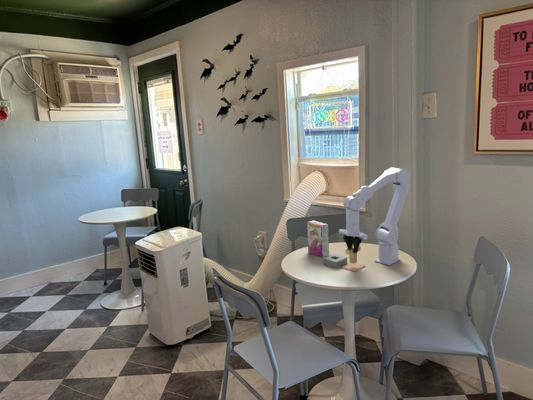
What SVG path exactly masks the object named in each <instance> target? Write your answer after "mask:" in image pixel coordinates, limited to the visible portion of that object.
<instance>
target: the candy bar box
mask: <svg viewBox="0 0 533 400" xmlns="http://www.w3.org/2000/svg"><path fill="white" fill-rule="evenodd" d="M306 230H307V231H306V233H307V252H308V253H309V254H312V255H315V256H318V257H320V258H324V257H327V256H329V255H330V245H329V244H330V241H329V238H330V237H329V236H330V235H329V224H327V223H324V222H320V221H318V220H311V221H310V220H309V221H307V222H306Z"/></svg>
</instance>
